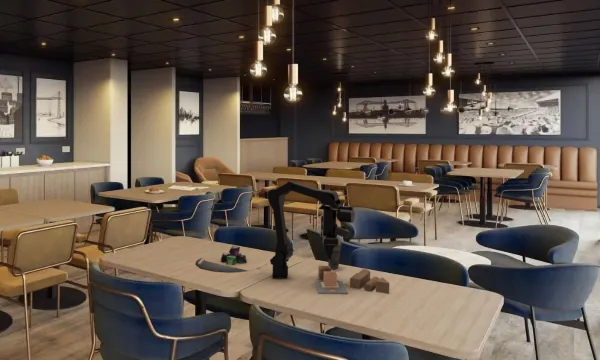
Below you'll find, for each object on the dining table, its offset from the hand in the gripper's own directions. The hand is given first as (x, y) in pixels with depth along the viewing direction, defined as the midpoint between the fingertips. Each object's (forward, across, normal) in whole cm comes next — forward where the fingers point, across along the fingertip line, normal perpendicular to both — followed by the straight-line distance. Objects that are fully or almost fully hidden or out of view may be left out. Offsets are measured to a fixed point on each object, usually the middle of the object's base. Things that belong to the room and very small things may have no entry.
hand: (328, 256), depth 217 cm
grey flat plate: (+12, -6, -1) cm, 13 cm away
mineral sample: (+13, +32, +44) cm, 56 cm away
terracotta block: (+11, -4, -1) cm, 12 cm away
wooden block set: (+12, -2, -20) cm, 24 cm away
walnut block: (+12, +8, 0) cm, 14 cm away
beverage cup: (+12, +24, -5) cm, 27 cm away
